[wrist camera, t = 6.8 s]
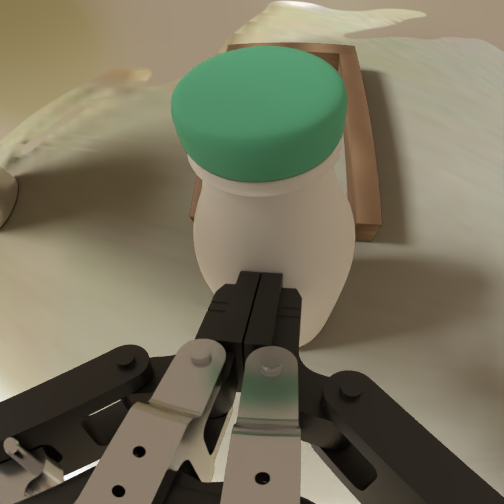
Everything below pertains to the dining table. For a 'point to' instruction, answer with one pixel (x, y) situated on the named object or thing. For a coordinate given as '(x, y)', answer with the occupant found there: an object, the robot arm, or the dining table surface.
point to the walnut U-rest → (355, 138)
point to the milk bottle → (269, 172)
